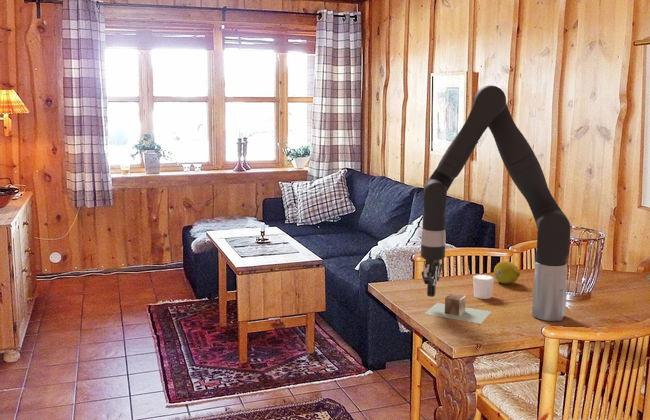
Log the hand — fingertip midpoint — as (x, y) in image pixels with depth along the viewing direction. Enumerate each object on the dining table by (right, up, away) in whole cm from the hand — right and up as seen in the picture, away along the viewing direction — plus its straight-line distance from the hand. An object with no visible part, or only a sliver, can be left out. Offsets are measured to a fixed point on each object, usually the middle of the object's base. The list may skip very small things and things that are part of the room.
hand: (431, 295), depth 215 cm
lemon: (+31, +1, +28) cm, 42 cm away
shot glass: (+19, -2, +13) cm, 23 cm away
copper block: (+5, -2, -2) cm, 6 cm away
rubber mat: (+8, -5, -3) cm, 10 cm away
